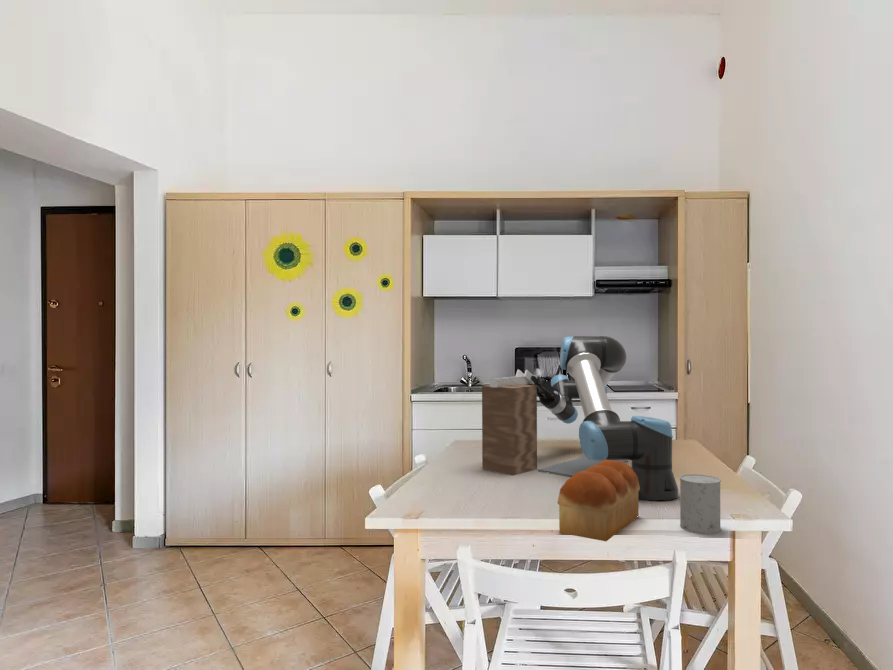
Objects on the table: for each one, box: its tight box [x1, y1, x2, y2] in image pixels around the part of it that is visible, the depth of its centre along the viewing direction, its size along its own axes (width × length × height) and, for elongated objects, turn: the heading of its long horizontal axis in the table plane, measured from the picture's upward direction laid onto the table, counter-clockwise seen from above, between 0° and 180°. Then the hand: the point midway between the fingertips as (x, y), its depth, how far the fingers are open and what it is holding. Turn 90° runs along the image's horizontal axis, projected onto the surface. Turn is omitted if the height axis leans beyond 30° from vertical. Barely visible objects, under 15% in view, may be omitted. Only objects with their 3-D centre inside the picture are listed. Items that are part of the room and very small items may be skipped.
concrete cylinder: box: [679, 473, 722, 535], centre depth 159 cm, size 10×10×12 cm
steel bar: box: [489, 374, 541, 388], centre depth 231 cm, size 26×3×3 cm, turn 137°
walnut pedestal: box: [481, 384, 538, 476], centre depth 228 cm, size 14×14×30 cm
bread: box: [557, 460, 640, 542], centre depth 162 cm, size 25×12×15 cm, turn 146°
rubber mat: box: [537, 455, 629, 477], centre depth 232 cm, size 36×16×1 cm, turn 137°
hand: (521, 373), depth 233 cm, fingers closed on steel bar, 3 cm apart
